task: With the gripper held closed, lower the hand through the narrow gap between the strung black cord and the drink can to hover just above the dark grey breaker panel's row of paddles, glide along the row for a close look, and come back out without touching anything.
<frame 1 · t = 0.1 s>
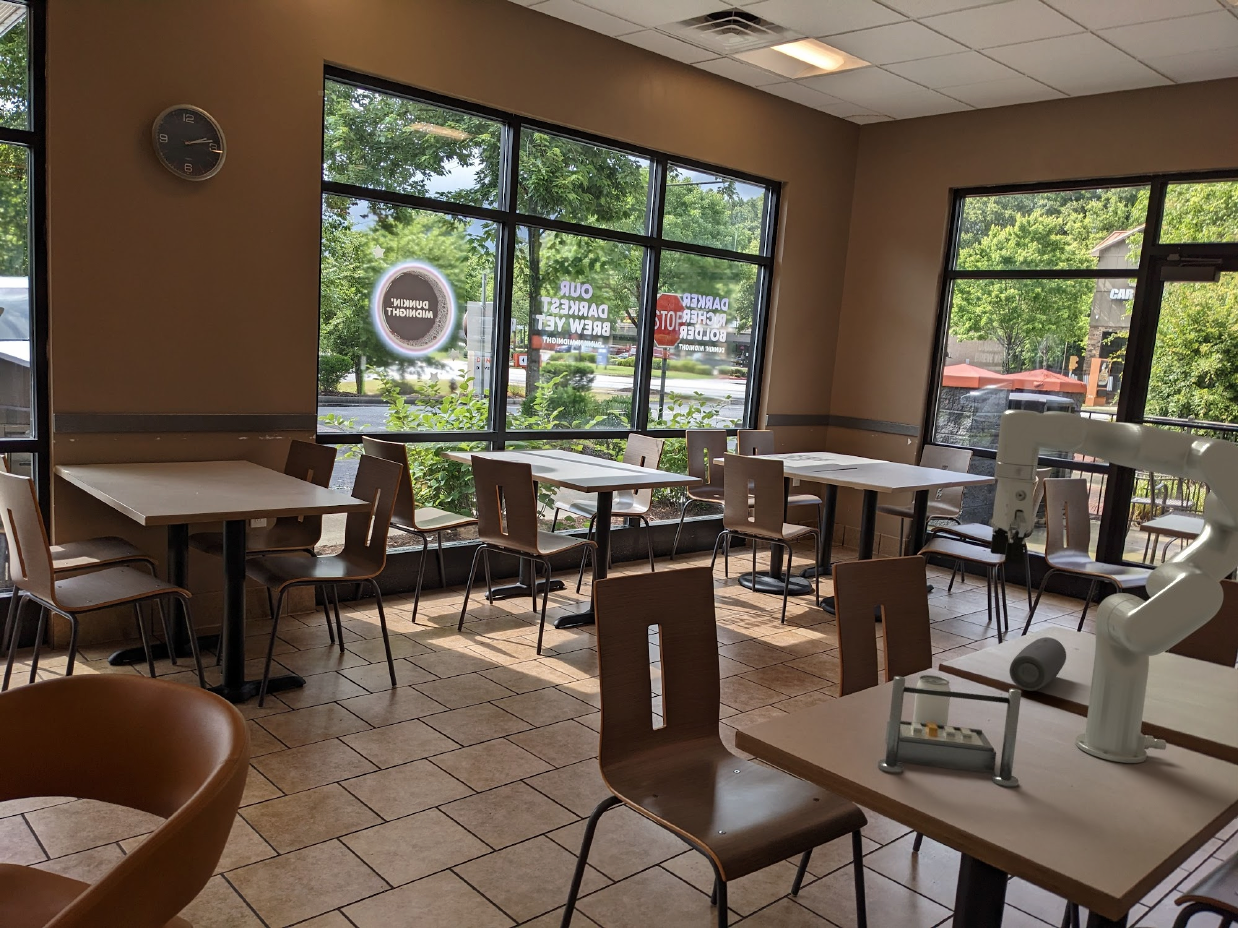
hand: (1005, 558, 188), 37 cm above the table, tool pointing down, fingers open, 9 cm apart
breaker panel: (937, 756, 180), on the table
can: (928, 739, 189), on the table
bluetooth speaker: (1035, 685, 230), on the table
cord stand: (947, 775, 172), on the table
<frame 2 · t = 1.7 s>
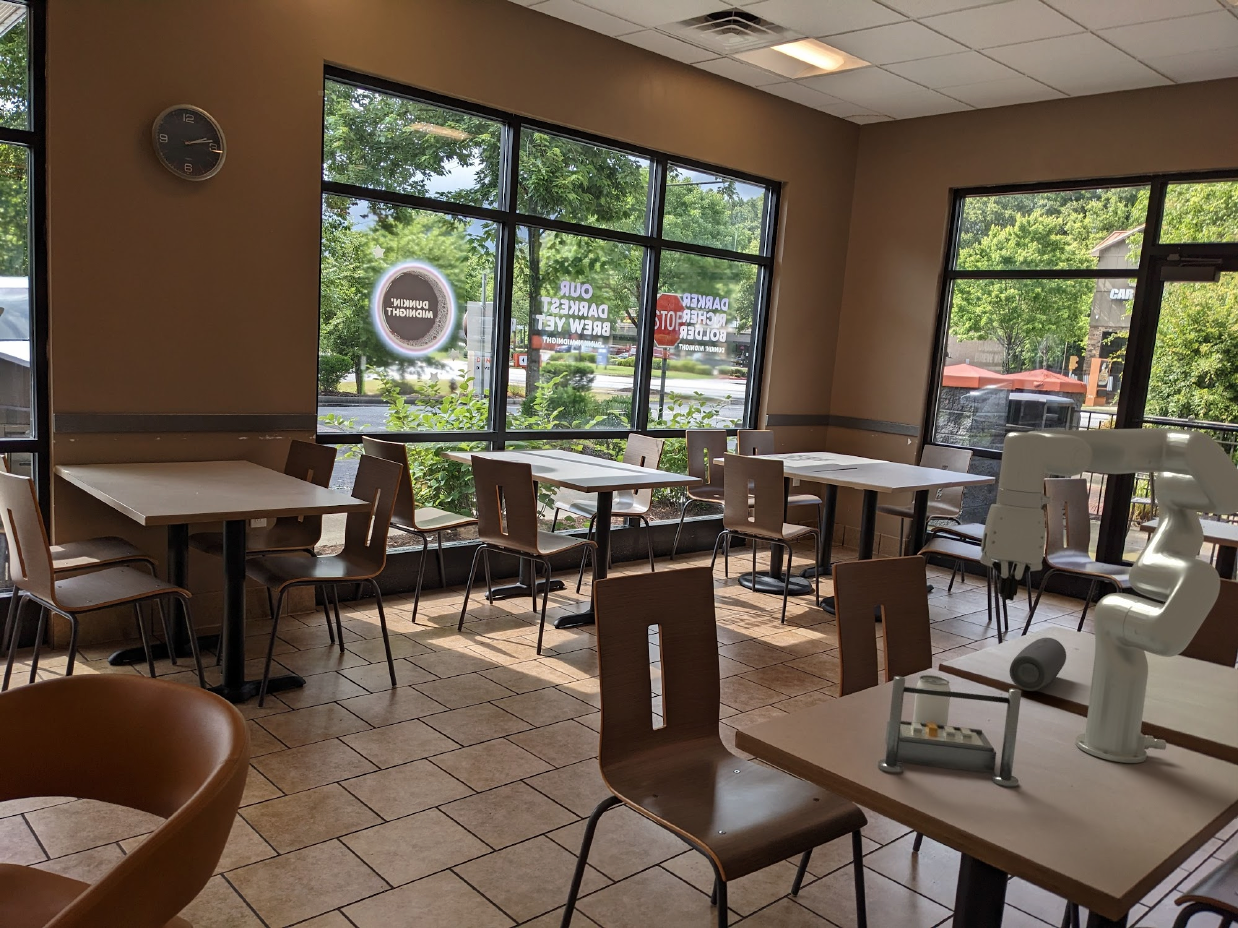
hand: (1006, 598, 175), 32 cm above the table, tool pointing down, fingers closed
nothing on the table moved.
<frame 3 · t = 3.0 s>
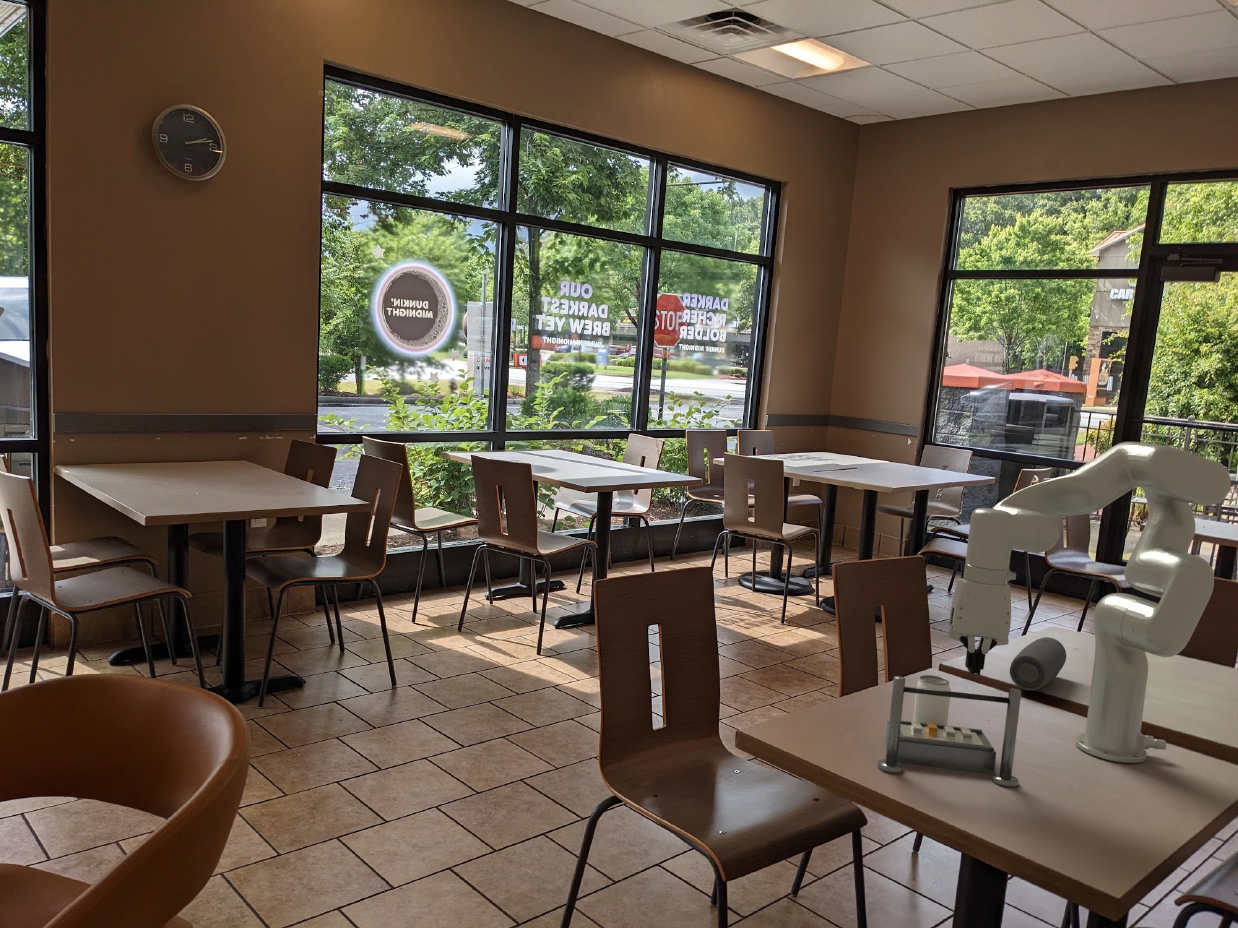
hand: (973, 671, 177), 17 cm above the table, tool pointing down, fingers closed
nothing on the table moved.
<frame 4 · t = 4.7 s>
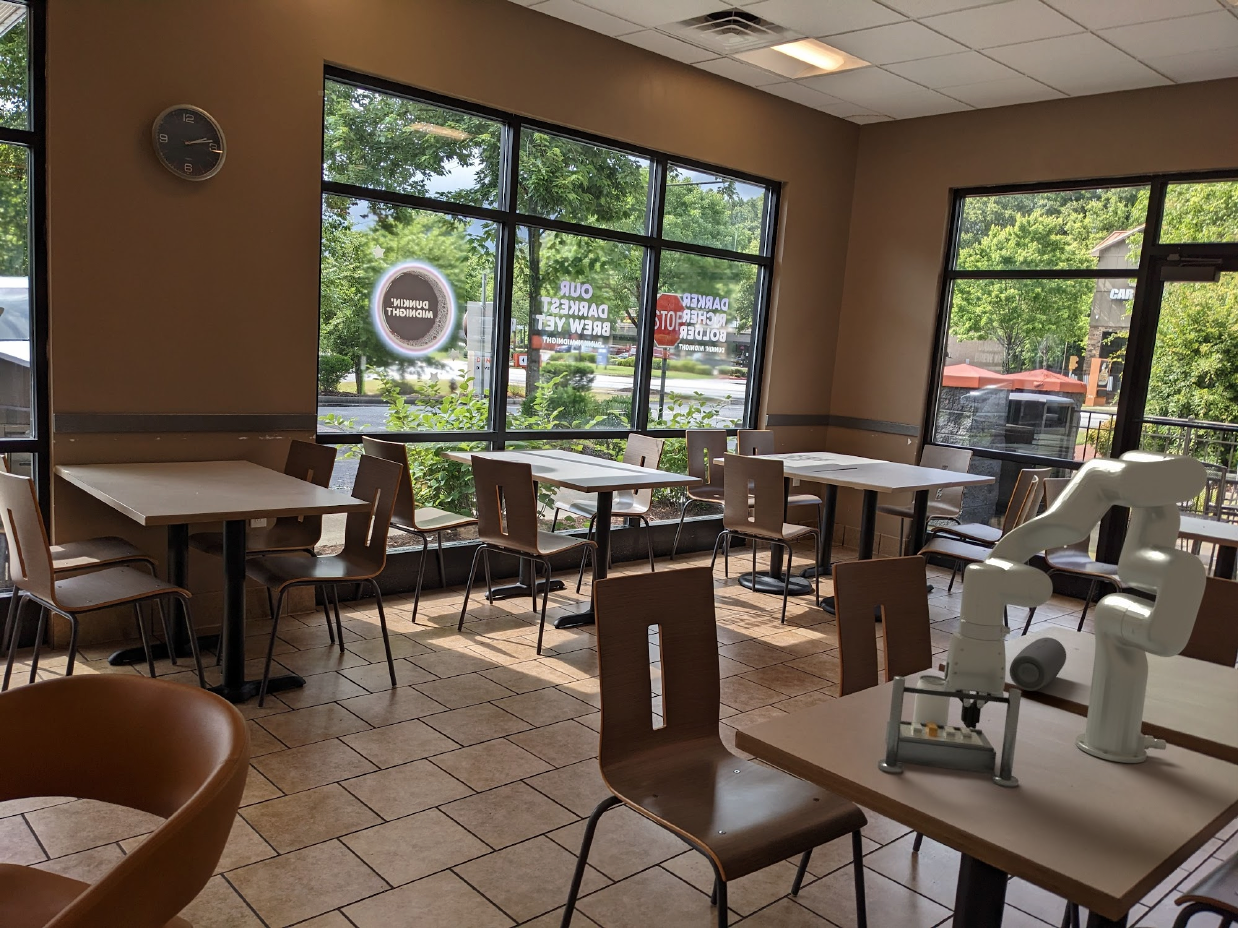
hand: (969, 725, 178), 7 cm above the table, tool pointing down, fingers closed
nothing on the table moved.
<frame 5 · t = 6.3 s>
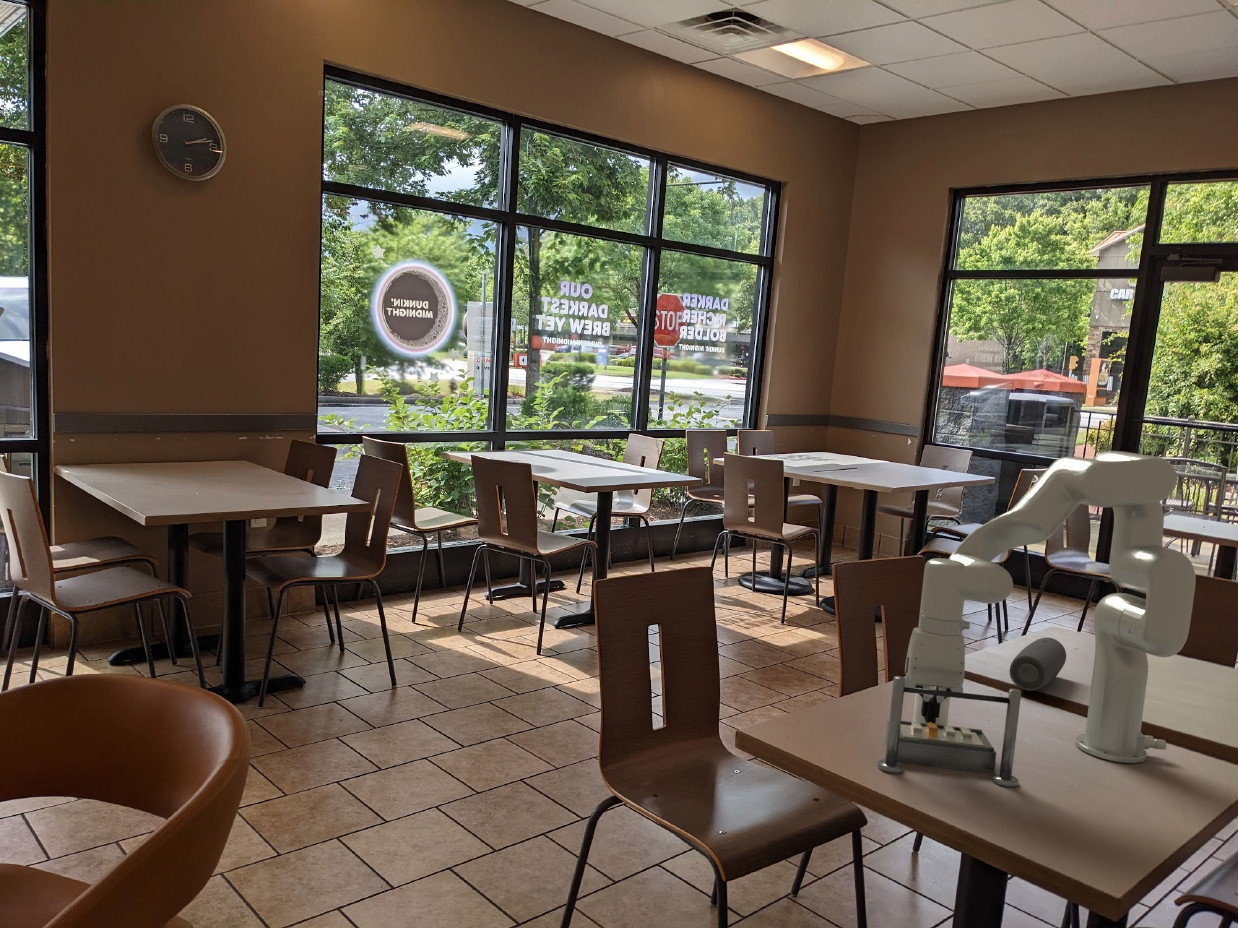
hand: (929, 720, 179), 7 cm above the table, tool pointing down, fingers closed
nothing on the table moved.
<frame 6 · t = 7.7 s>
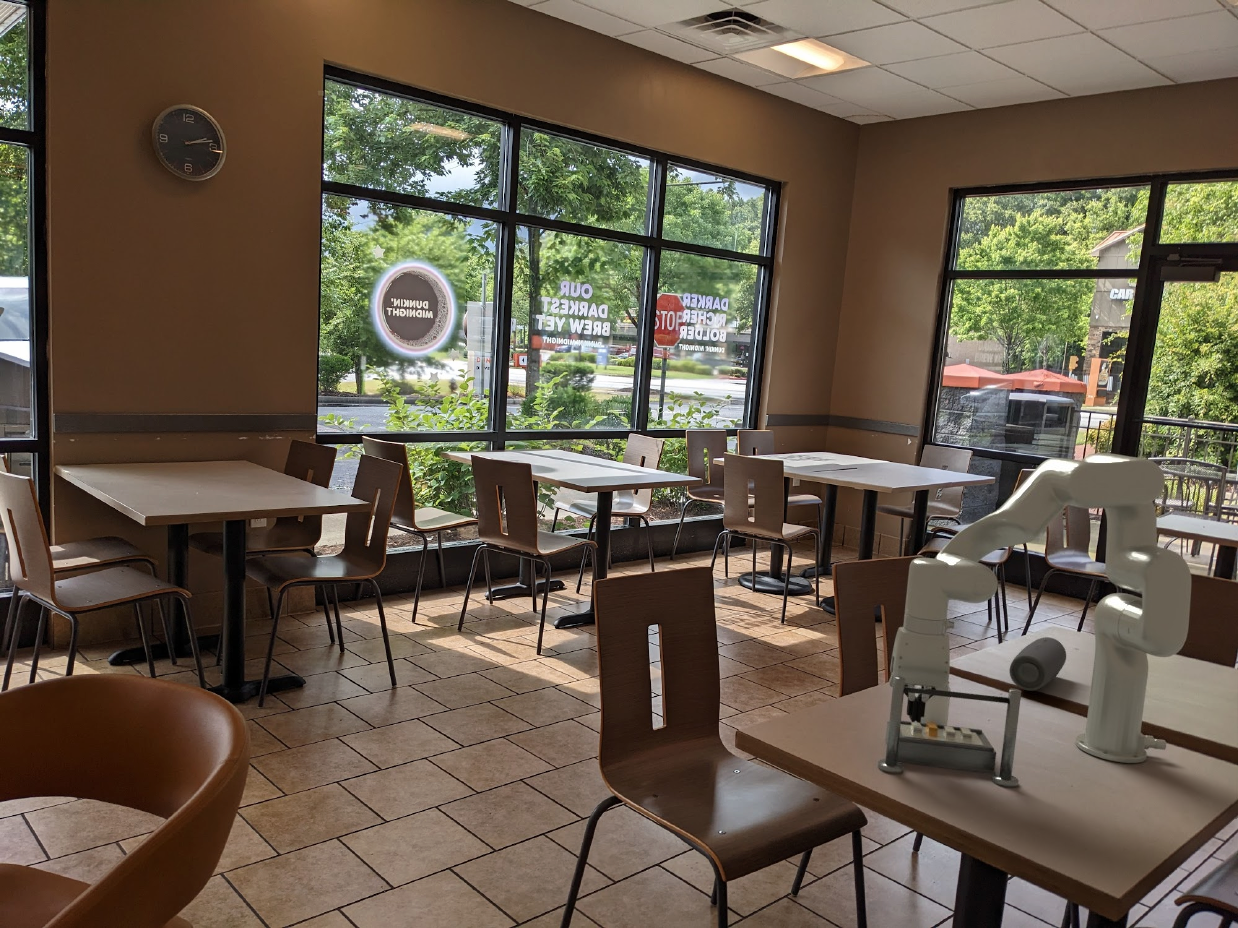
hand: (914, 719, 179), 7 cm above the table, tool pointing down, fingers closed
nothing on the table moved.
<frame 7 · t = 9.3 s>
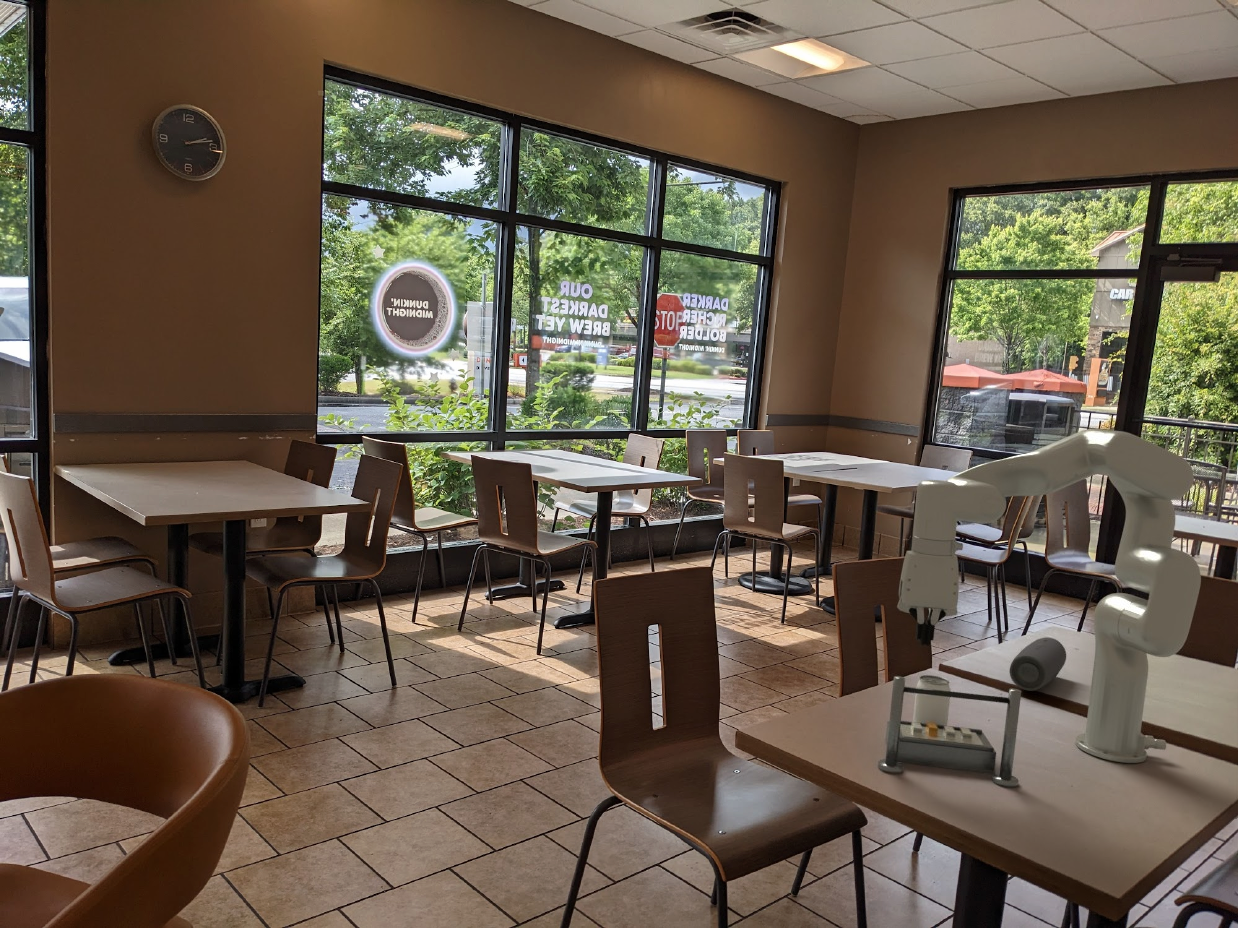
hand: (923, 643, 178), 22 cm above the table, tool pointing down, fingers closed
nothing on the table moved.
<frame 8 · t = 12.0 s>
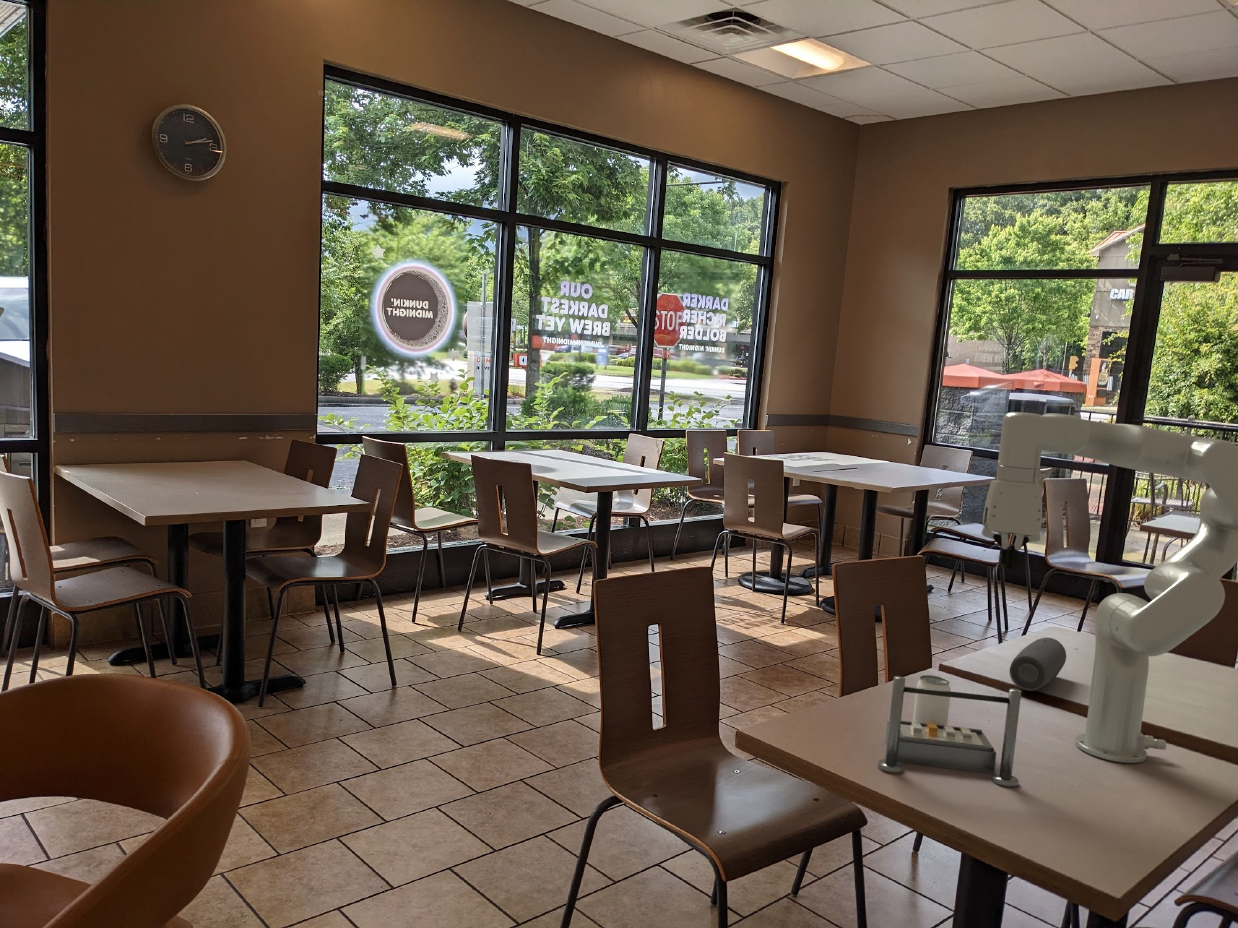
hand: (1007, 568, 187), 35 cm above the table, tool pointing down, fingers closed
nothing on the table moved.
at the end: can moved 0.2 cm from its start; can tilted 0°; the gripper is holding nothing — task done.
